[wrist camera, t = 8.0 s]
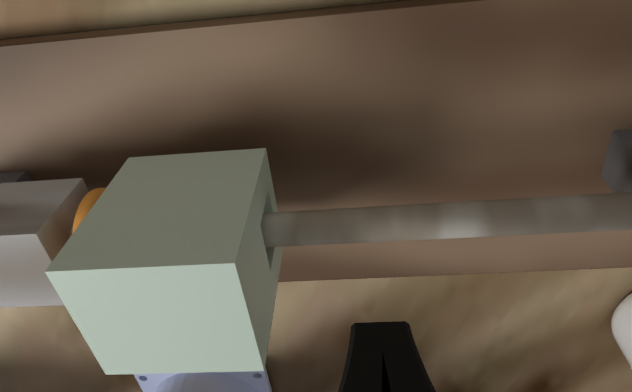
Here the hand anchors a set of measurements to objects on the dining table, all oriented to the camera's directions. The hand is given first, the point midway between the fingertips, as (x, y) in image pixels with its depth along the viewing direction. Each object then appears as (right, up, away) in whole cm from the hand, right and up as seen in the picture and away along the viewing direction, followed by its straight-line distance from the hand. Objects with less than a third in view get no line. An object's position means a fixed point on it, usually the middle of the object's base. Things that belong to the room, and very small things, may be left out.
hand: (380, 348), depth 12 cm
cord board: (-2, +5, +8) cm, 10 cm away
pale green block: (-6, +4, +6) cm, 9 cm away
